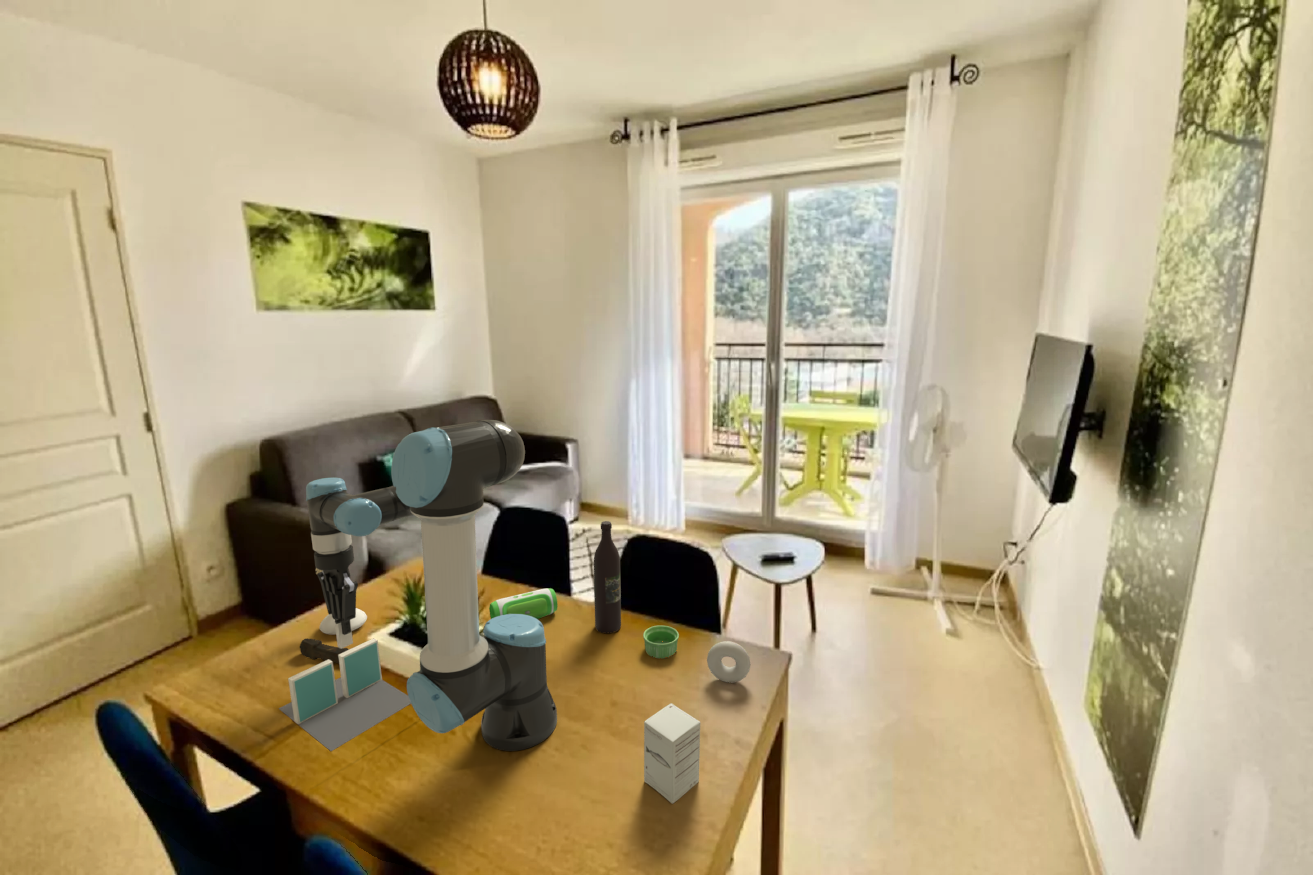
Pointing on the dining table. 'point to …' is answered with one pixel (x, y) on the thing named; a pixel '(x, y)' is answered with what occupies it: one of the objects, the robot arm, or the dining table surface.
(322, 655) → the hand tool
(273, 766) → the dining table surface
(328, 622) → the flower in vase
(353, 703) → the mat
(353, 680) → the tile far
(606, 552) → the wine bottle
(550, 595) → the speaker
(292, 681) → the tile near
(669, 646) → the ramekin
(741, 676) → the donut
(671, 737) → the supplement box
